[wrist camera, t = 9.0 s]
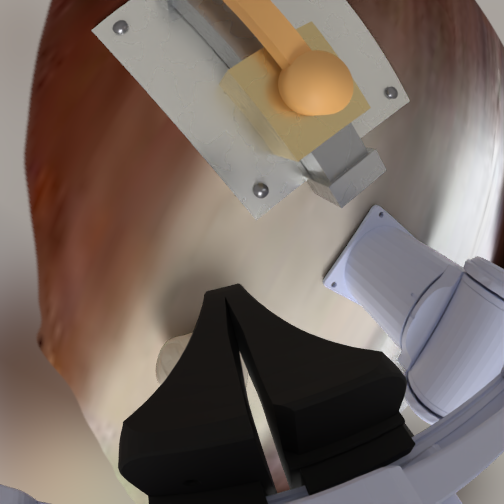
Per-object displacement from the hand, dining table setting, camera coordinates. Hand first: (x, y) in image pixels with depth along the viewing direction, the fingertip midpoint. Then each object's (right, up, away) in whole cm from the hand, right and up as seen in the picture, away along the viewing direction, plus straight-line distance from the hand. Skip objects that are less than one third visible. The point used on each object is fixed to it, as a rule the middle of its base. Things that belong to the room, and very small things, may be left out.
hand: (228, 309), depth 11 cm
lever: (+1, +14, 0) cm, 14 cm away
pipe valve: (+2, +14, +6) cm, 15 cm away
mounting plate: (+2, +16, +5) cm, 17 cm away
